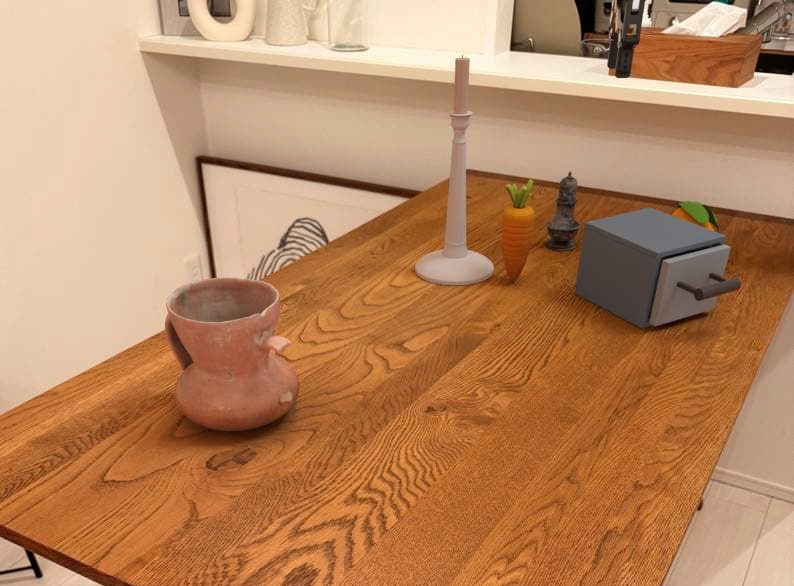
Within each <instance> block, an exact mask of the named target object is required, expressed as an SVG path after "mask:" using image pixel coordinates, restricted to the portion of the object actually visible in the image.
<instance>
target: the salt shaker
mask: <svg viewBox="0 0 794 586" xmlns="http://www.w3.org/2000/svg"><path fill="white" fill-rule="evenodd" d="M572 175H573V173H572V172H571V170H570V171H569V172H568V173H567V176H565V177H563V178H562V179H560V181H559V189H558V194H557V195H558V196H557V198H556V199H555V202H556V209H555V214H554V217H553V218H552V219H549V220H548V221H546V222H545V226H546V227H547V229H546V230H547V234H548V236H549V237H550V239H549V240H548V241H546V242H545V247H546V248H548V249H550V250H551V251H552V250H553V251H558V252H559V251H560V252H567V251H572V250H574V249H576V248H577V243H576V242H575V241H574V240H573V239H574V238H575V237H577V234H578V233H579V230H580V229H581V227H582V224H581V222H580V221H578V220H576V219H575V209H576V204H577V203H578V199H577V198H576V197H577V191H578V183H579V182H578V180H577V179H576V177H573V176H572Z"/></svg>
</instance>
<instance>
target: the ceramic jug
mask: <svg viewBox="0 0 794 586" xmlns="http://www.w3.org/2000/svg"><path fill="white" fill-rule="evenodd" d="M165 306H166V311H167V315H166V317H165V321H164V333H165V338H166V341H167V343H168V346H169V348H170V350H171V352H172V354H173V356H174V357H175V359H176V361H177V362H178V364H179V366H180V368H181V369H182V372H181V374H180V375H179V376H178V378H177V380H176V383H175V385H174V390H173V391H174V392H173V397H174V401H175V403H176V405H177V408H178V409H179V411H180V412H181V413H182V415H184V417H185V418H187V419H188V420H190V421H191V422H193V423H194V424H195V425H198V426H201V427H204V428H205V429H210V430H214V431H222V432H243V431H249V430H253V429H259V428H262V427H264V426H266V425H269V424H271V423H273V422H275V421H277V420H279V419H280V418H282V417H283V416H284V415H286V414H287V413H288V412H289V411H290V410H291V409H292V408H293V407H294V405H295V403H296V401H297V399H298V396H299V392H300V379H299V376H298V373H297V370H295V368H294V367H293V366H292V365H291V364H290V363H289V362H287V360H285V359H283V358H282V357H280V356H278V355H283V354H284V352H285V351H286V349H287V348H288V347H290V346H291V345H292V342H291V341H290V340H289V339H288V338H287V337H284V336H281V335H275V330H276V328H277V326H278V323H279V320H280V319H279V318H280V311H281V297H280V292H279V291H278V289H277V288H276V287H275V286H274V285H272V284H271V283H268V282H266V281H264V280H258V279H251V278H240V277H213V278H212V277H211V278H203V279H200V280H195V281H194V282H188V283H186V284H182V285H181V286H179V287H177V288H175V290H174V291H173V292H171V293H170V294H169V295H168V297H167V298H166V305H165ZM271 350H273V351H274V352H276V354H274V353H271Z"/></svg>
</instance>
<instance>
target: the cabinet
mask: <svg viewBox="0 0 794 586" xmlns="http://www.w3.org/2000/svg"><path fill="white" fill-rule="evenodd" d="M582 233H583V234H582V240H581V248H580V253H579V259H578V268H577V275H576V281H575V288H574V294H575V295H577V296H579V297H581V298H582V299H585V300H587V301H588V302H590V303H592V304H594V305H596V306H598V307H600V308H602V309H604V310H605V311H607V312H609V313H611V314H612V315H615V316H616V317H619V318H620V319H623V320H624V321H627V322H628V323H630V324H632V325H633V326H636V327H637V328H639V329H641V330H643V329H647V328H650V327H654V326H653V325H652V324H650V323H649V322H650V317H651V315H650V316H649V311H650V306H651V302H652V297H653V292H654V288H655V283H656V278H657V274H658V269H659V264H660V260H661V258H662V257H666V256H669V255H673V254H677V253H681V252H685V251H689V250H693V249H697V248H701V247H705V246H709V245H713V246H712V248H713V247H717V246H720V245H724V244H726V243H725V241H726V238H727V235H725V234H723V233H719V232H718V231H715V230H714V231H712V230H709V229H707V228H704V227H701V226H698V225H696V224H693V223H690V222H688V221H685V220H682V219H680V218H677V217H674V216H672V214H669V213H665V212H663V211H661V210H658V209H656V208H653V207H646V208H642V209H637V210H633V211H629V212H624V213H620V214H615V215H611V216H607V217H601V218H598V219H592V220H589V221H585V222H584V228H583V232H582Z"/></svg>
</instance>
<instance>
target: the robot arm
mask: <svg viewBox="0 0 794 586" xmlns="http://www.w3.org/2000/svg"><path fill="white" fill-rule="evenodd" d="M646 1H647V0H612V2H611V10H610V17H609V24H608V26H607V31H608V37H609V48H608V56H607V65H606V67H607V68H608V69H610V70H614V77H615V78H616V79H628V78H630V76H631V73H632V65H633V60H634V53H635V49H636V48H637V46H639V44H640V42H641V32H642V25H643V18H644V12H645V5H646Z"/></svg>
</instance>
